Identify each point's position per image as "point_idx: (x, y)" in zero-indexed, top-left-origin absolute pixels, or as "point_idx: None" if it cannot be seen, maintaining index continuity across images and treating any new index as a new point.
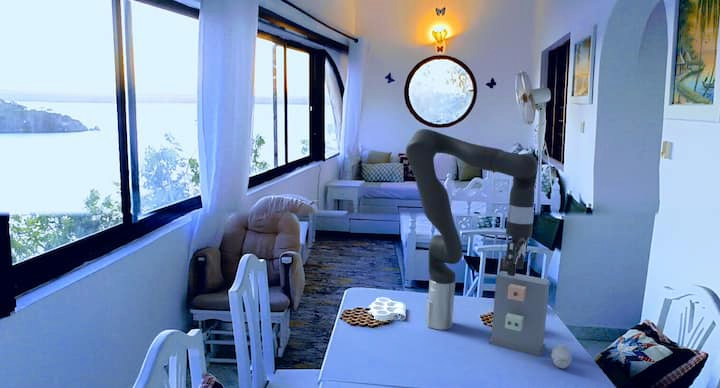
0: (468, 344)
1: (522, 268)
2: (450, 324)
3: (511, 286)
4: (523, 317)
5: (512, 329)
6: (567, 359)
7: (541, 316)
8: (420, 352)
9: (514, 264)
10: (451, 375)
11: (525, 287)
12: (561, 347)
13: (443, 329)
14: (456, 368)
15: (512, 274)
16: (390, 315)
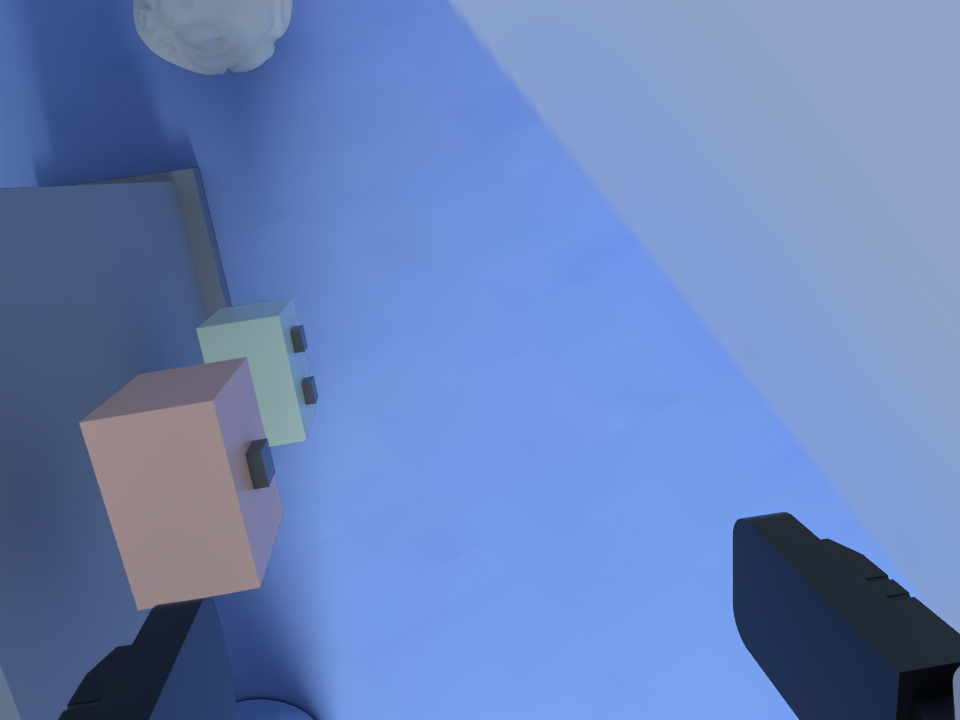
0: (364, 537)
1: (194, 600)
2: (252, 715)
3: (230, 560)
4: (201, 326)
5: (304, 353)
6: None
7: (73, 200)
8: (610, 646)
9: (947, 682)
10: (722, 436)
11: (114, 421)
12: None
13: (303, 711)
14: (647, 452)
15: (830, 545)
16: None
